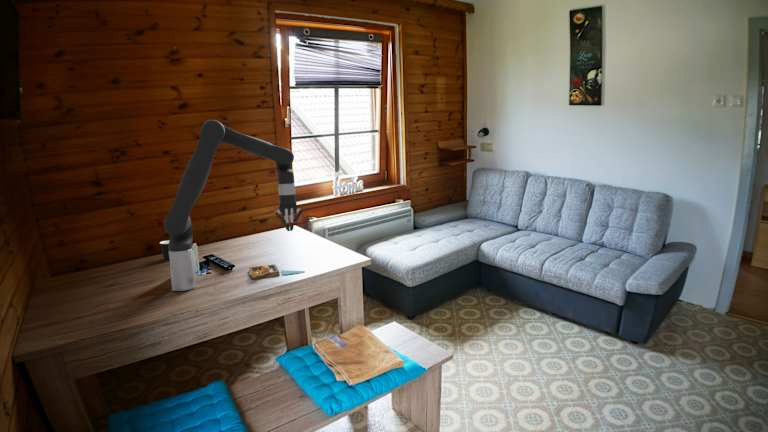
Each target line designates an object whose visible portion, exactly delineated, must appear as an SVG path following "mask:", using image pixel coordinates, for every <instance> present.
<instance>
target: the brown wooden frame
mask: <svg viewBox="0 0 768 432" xmlns="http://www.w3.org/2000/svg"><path fill="white" fill-rule="evenodd" d="M263 266H268V267H269V268H270V269H273V270H274V271H269V272H267V273H266V274H264V273H261V274H264V275H262V276H257V277H253V276H252V275H250V277H251V280H255V279H256V280H257V279H265V278H271V277H279V276H280V270H279V269H278V267H277V264H264V265H258V266H257V265H256V266H249V267H248V268H249V272H250V271H251V270H252V271H251V274H252V273H253V271H255V272H256V271H257V270H258V269H259V270H260V271H261V268H262V267H263Z"/></svg>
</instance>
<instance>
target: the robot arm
mask: <svg viewBox="0 0 768 432" xmlns="http://www.w3.org/2000/svg"><path fill="white" fill-rule="evenodd" d="M221 143H223V144H227V145H231V146H232V147H233V146H234V147H235V148H239V149H241V150H243V151H245V152H247V153H250V154H252V155H254V156H257V157H260V158H264V159H267V160H271V161H274V162H275V163H276V169H277V178H278V181H277V182H278V188H277V190H278V198H279V199H278V202H279V203H278V204H279V205H278V209H277V210H275V211H274V214H275V216H276V217H277V218H278V219H279V220H280V221H281V223H285V230H286V231H287V232H293V230H294V222H297V221H298V219H299V218H300V216H301V214H302V213H303V210H302V209H301V208H299V207H298V204H297V196H296V193H297V192H296V191H297V190H296V185H295V174H294V172H293V167H292V164H293V162H294V159H295V155H294V153H293V152H292V151H291V150H290V149H288V148H286V147H285V148H284V147H281V146H278V145H274V144H272V143H271V142H268V141H265V140H262V139H260V138H256V137H254V136H251V135H247V134H244V133H241V132H238V131H237V130H234V129H232V128H230V127H228V126H226V125H224V124H222V123H221V122H220V121H218V120H216V119H209V120H206V121H204V123H203V124H202V126H201V128H200V134H199V139H198V141H197V145H196V148H195V150H194V152H193V154H192V156H191V157H190V159H189V161H188V163H187V165H186V166H185V169H184V172H183V174H182V177H181V179H180V183H179V186H178V189H177V191H176V195H175V198H174V201H173V203H172V204H171V208H170V209H169V211H168V213H167V215H166V217H165V218H164V221H163V228H164V230H165V232H166V233H167V234H169V240H170V241H169V244H168V249H169V257H170V261H169V266H170V269H169V273H170V281H171V282H170V283H171V291H172V292H184V291H189V290H192V289H195V288H196V274H195V264H194V253H193V226H192V224H193V223H192V220H191V217H190V215H191V211H192V208H193V206H194V204H195V203H196V202H197V200H198V198H199V197H200V195H201V193H202V191H203V190H204V188H205V186H206V183H207V180H208V179H209V176H210V175H209V174H210V172H211V168H212V165H213V160H214V157H215V154H216V152H217V150H218V148H219V146H220V144H221ZM295 213H296V214H295ZM281 214H282V215H284V218H283V216H281ZM294 215H295V216H294Z"/></svg>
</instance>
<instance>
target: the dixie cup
mask: <svg viewBox="0 0 768 432" xmlns="http://www.w3.org/2000/svg"><path fill="white" fill-rule="evenodd" d="M169 241H170V239H168V240H162V241H160V242H159V244H160V247H161V248H160V249H161V254H162V257H163V261H164V262H168V261H169V262H170V257H169V249H168V244H169Z"/></svg>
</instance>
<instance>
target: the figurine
mask: <svg viewBox="0 0 768 432" xmlns="http://www.w3.org/2000/svg"><path fill="white" fill-rule="evenodd" d="M262 266H263V267H262V268H261V270H259V269H258V270H257V271H253V273H252V274H251V271H252V270H251V271H250V270H249V275H250V276H251V275H252V276H253V277H257V276H262V275H264V274H266V273H267V272H271V268H269V267H268V266H265V265H262ZM261 273H264V274H261Z"/></svg>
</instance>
